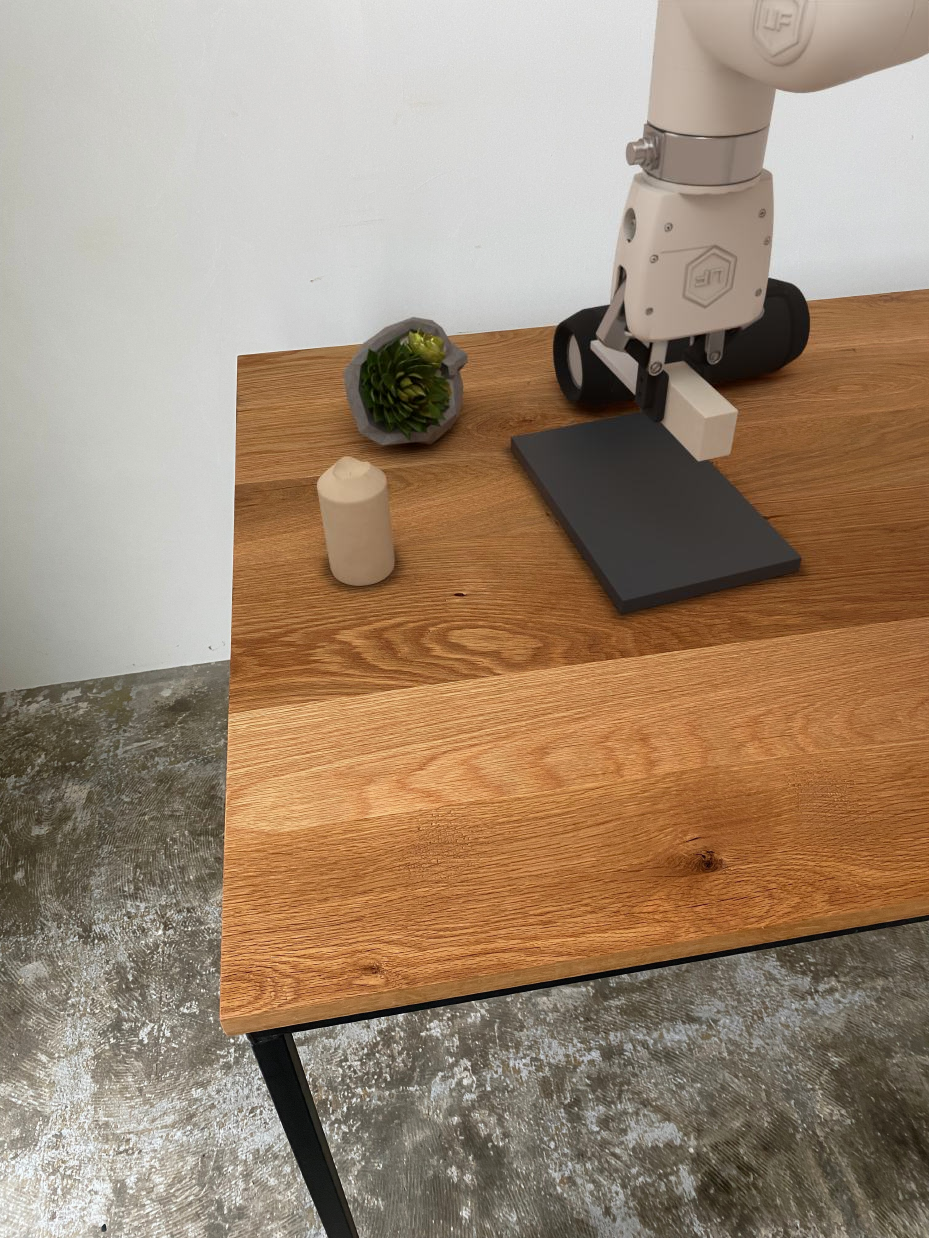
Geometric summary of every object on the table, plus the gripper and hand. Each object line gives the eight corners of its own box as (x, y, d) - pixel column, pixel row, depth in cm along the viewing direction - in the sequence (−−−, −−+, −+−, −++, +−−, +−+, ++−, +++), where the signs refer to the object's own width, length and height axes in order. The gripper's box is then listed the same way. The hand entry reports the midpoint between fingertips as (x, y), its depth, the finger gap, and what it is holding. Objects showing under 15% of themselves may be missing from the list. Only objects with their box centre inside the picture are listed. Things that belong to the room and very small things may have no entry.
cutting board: (657, 420, 96) (659, 407, 95) (798, 571, 77) (802, 557, 76) (510, 450, 93) (510, 436, 92) (621, 614, 74) (622, 600, 73)
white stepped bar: (730, 455, 67) (738, 410, 65) (698, 462, 67) (705, 417, 64) (617, 343, 81) (621, 303, 78) (590, 348, 80) (592, 308, 78)
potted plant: (477, 362, 99) (518, 391, 86) (399, 454, 101) (426, 496, 88) (392, 282, 94) (422, 300, 81) (311, 381, 96) (327, 414, 83)
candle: (324, 554, 81) (308, 455, 74) (386, 540, 82) (375, 442, 75) (338, 592, 77) (321, 492, 70) (402, 578, 78) (392, 478, 72)
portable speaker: (584, 429, 95) (589, 337, 88) (547, 385, 102) (550, 296, 95) (803, 385, 100) (824, 294, 94) (754, 346, 107) (771, 259, 101)
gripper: (611, 187, 55) (592, 455, 67) (849, 153, 58) (789, 414, 71) (562, 151, 60) (553, 406, 73) (783, 122, 64) (738, 370, 76)
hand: (669, 408), depth 72 cm, fingers closed on white stepped bar, 2 cm apart
